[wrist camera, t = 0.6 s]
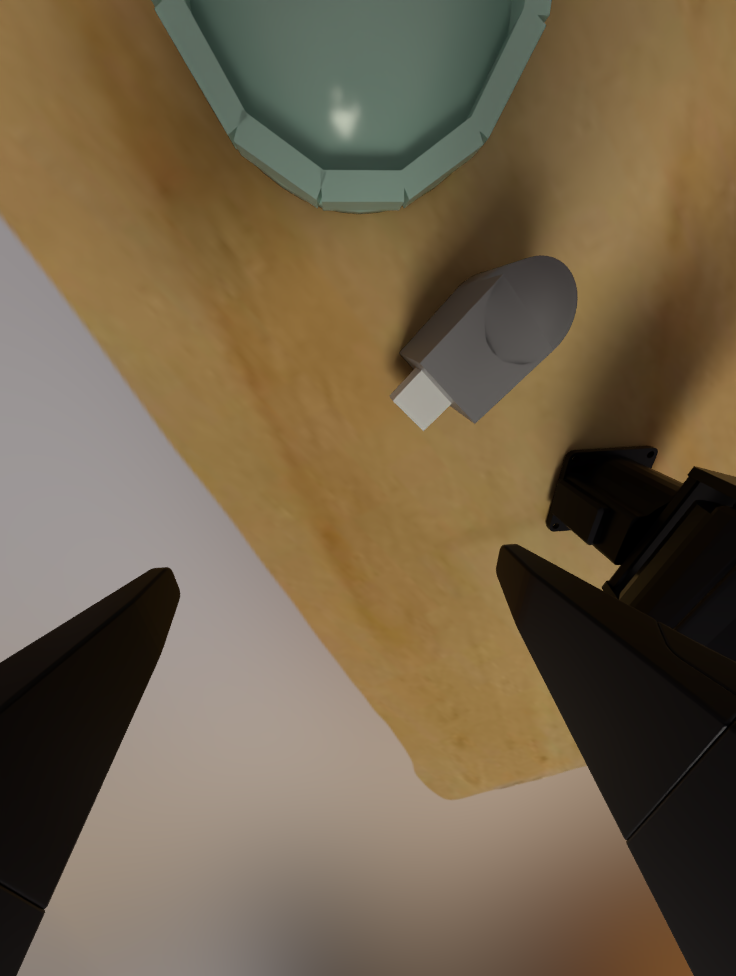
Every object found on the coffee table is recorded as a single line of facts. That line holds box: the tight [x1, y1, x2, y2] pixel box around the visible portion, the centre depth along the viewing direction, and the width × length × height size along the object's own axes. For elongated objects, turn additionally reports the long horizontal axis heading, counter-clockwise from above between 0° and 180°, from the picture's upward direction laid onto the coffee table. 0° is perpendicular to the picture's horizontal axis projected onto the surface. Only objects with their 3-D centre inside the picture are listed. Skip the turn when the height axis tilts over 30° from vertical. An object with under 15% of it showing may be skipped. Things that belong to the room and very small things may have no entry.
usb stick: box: [390, 256, 577, 431], centre depth 16 cm, size 8×4×5 cm, turn 136°
